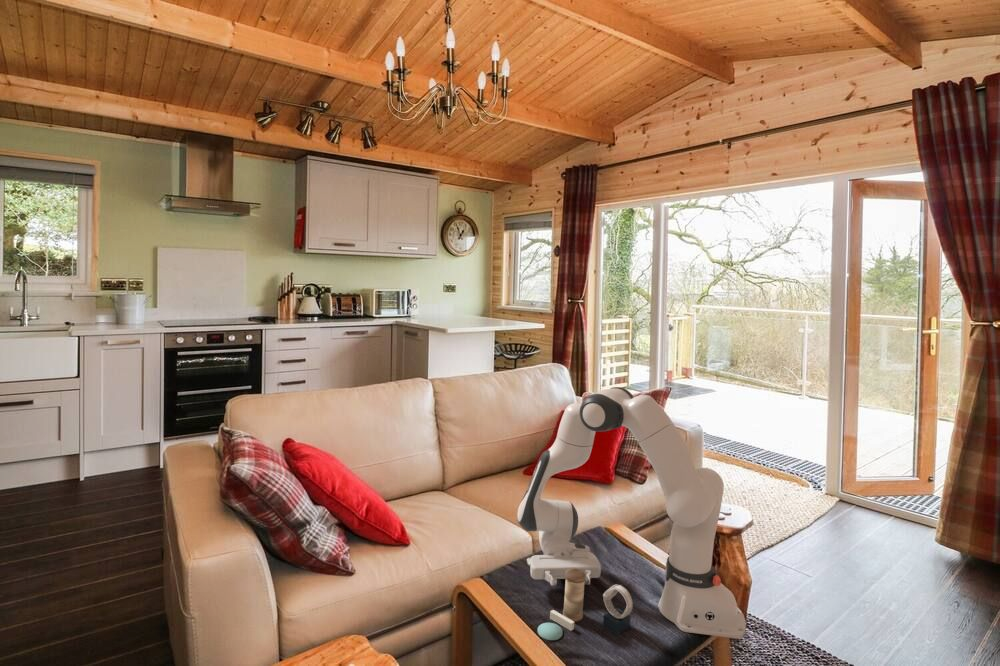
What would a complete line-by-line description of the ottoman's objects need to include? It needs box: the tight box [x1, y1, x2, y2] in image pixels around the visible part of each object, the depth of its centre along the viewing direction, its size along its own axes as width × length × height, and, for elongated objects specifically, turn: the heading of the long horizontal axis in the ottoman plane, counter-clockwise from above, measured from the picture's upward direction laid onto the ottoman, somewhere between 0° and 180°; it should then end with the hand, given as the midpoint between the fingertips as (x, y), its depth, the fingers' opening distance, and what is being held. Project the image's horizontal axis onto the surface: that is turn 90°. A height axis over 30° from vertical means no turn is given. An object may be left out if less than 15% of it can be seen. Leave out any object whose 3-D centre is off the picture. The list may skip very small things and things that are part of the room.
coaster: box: [537, 622, 564, 641], centre depth 145 cm, size 6×6×1 cm
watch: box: [602, 583, 634, 636], centre depth 148 cm, size 6×8×11 cm
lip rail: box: [549, 609, 575, 632], centre depth 149 cm, size 7×1×2 cm, turn 47°
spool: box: [562, 568, 586, 623], centre depth 152 cm, size 5×5×12 cm
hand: (571, 582), depth 156 cm, fingers open, 8 cm apart
